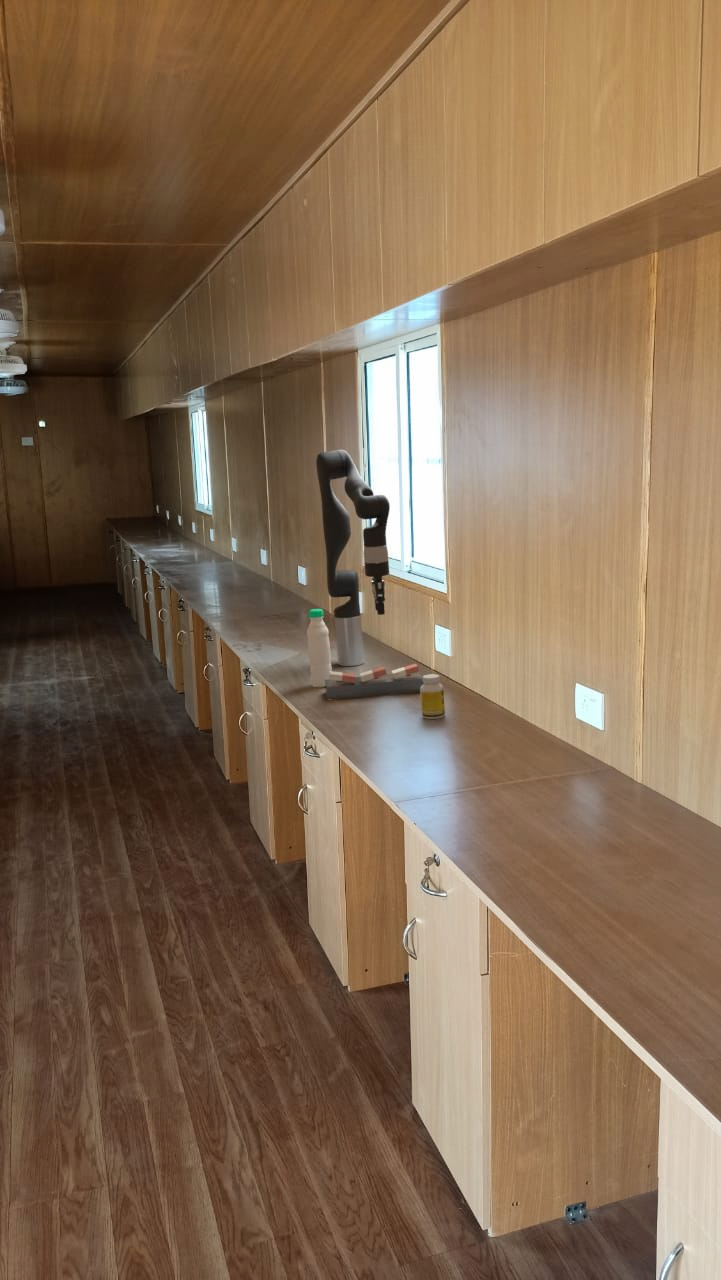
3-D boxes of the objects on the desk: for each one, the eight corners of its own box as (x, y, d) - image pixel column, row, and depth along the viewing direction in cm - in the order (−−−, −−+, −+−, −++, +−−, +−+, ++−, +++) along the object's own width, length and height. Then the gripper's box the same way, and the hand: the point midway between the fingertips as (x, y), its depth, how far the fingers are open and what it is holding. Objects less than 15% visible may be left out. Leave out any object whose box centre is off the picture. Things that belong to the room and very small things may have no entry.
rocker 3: (392, 676, 307) (391, 670, 306) (417, 668, 307) (415, 663, 306) (394, 679, 303) (392, 673, 302) (419, 671, 303) (417, 666, 302)
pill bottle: (443, 719, 272) (441, 678, 269) (420, 720, 273) (417, 679, 271) (446, 713, 278) (444, 673, 275) (423, 713, 279) (421, 673, 277)
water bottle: (334, 682, 324) (328, 607, 319) (331, 687, 317) (325, 611, 312) (313, 683, 325) (306, 608, 320) (309, 688, 318) (303, 612, 313)
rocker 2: (361, 679, 306) (359, 673, 306) (385, 671, 306) (384, 666, 306) (361, 682, 302) (360, 676, 302) (386, 674, 302) (385, 669, 302)
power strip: (326, 692, 312) (325, 679, 311) (420, 683, 313) (419, 670, 312) (327, 700, 302) (325, 686, 301) (424, 691, 303) (423, 678, 302)
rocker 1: (328, 676, 305) (329, 671, 305) (354, 679, 306) (354, 674, 306) (328, 679, 301) (329, 673, 301) (354, 682, 302) (355, 677, 302)
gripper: (362, 558, 313) (366, 609, 316) (365, 564, 299) (369, 617, 302) (386, 556, 313) (389, 607, 317) (390, 562, 299) (394, 615, 303)
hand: (380, 612), depth 309 cm, fingers open, 7 cm apart
